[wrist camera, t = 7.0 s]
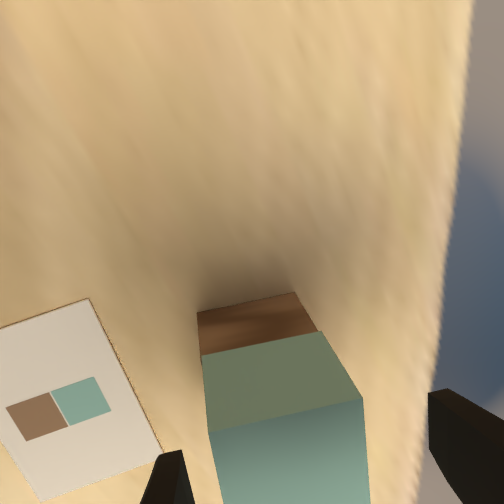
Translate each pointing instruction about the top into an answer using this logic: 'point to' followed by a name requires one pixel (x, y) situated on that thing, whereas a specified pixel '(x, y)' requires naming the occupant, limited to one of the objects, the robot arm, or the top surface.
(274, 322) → the walnut block
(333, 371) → the teal block
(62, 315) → the page
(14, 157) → the top surface
